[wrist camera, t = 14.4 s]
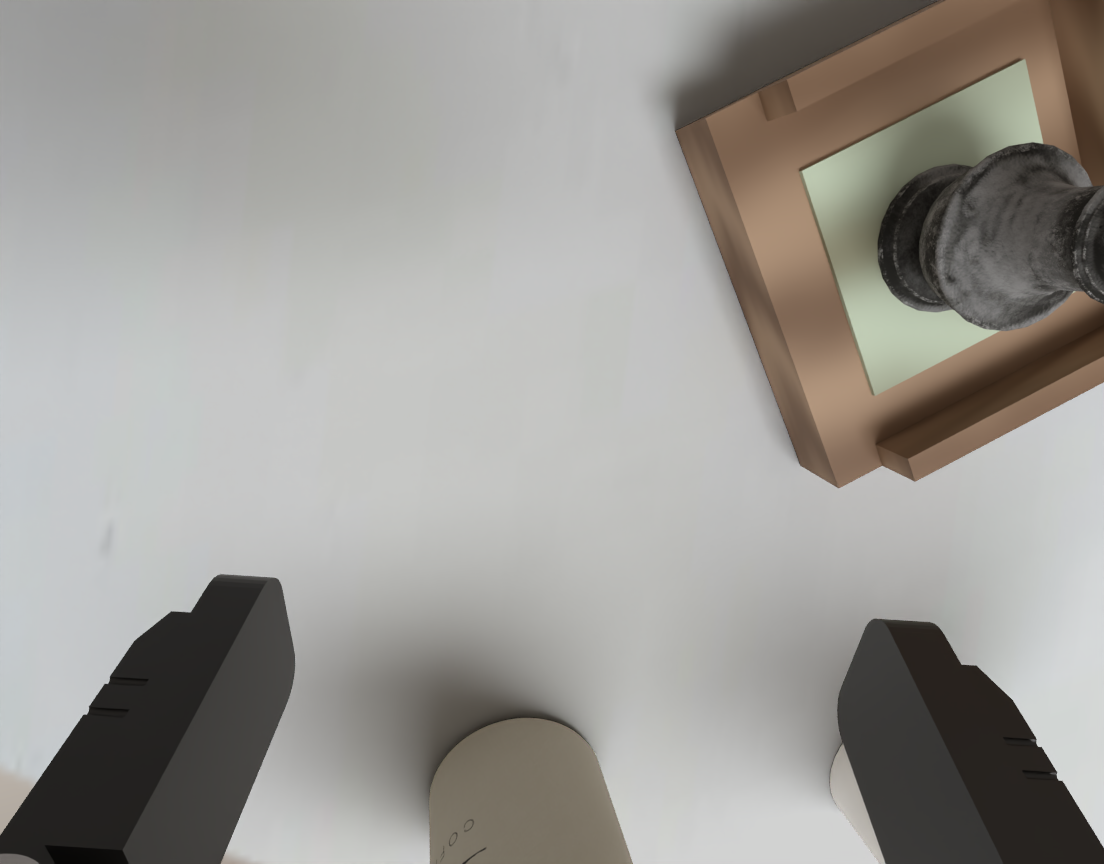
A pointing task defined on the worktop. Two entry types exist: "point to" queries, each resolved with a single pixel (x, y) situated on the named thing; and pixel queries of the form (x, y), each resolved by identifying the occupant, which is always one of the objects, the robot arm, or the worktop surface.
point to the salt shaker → (996, 237)
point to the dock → (855, 219)
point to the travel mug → (523, 800)
